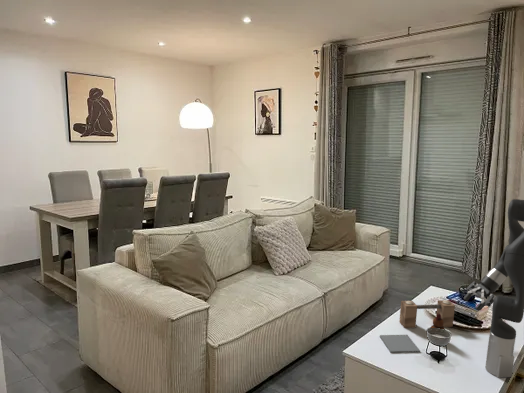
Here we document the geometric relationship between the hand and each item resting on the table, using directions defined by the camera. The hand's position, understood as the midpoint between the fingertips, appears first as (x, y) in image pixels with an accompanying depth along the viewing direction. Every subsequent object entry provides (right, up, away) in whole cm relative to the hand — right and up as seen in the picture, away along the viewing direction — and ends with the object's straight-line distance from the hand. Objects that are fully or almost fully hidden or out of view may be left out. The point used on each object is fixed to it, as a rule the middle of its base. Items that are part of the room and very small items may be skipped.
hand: (470, 304), depth 191 cm
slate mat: (-37, -17, -5) cm, 41 cm away
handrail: (-16, -14, +14) cm, 26 cm away
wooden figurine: (-17, -17, -1) cm, 24 cm away
